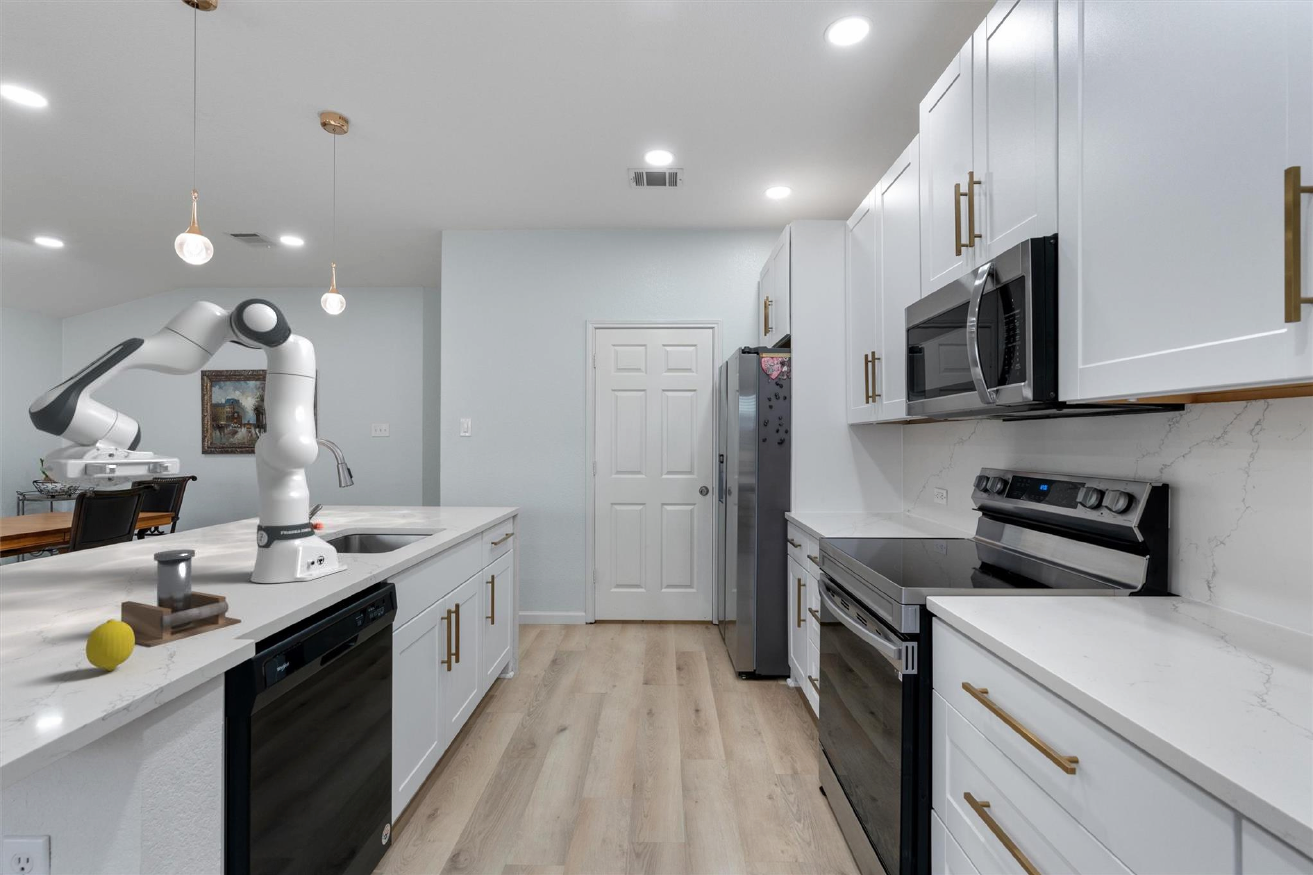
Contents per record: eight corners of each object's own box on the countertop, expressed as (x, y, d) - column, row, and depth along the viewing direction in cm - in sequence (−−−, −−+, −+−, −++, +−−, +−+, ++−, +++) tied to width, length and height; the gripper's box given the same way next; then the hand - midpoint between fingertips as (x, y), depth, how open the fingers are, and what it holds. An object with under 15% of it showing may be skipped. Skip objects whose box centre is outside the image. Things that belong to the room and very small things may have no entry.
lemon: (110, 678, 87) (111, 625, 87) (74, 677, 87) (75, 624, 87) (144, 664, 93) (144, 614, 93) (110, 663, 93) (110, 613, 93)
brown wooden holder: (193, 613, 120) (194, 586, 120) (241, 622, 114) (241, 594, 114) (102, 635, 106) (102, 605, 106) (150, 646, 100) (151, 615, 100)
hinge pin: (182, 619, 114) (182, 548, 114) (201, 623, 112) (202, 550, 112) (145, 628, 108) (146, 553, 108) (165, 632, 106) (165, 556, 106)
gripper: (35, 452, 114) (73, 453, 109) (157, 451, 133) (195, 452, 127) (34, 484, 114) (72, 487, 108) (157, 479, 133) (194, 481, 127)
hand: (139, 468), depth 118 cm, fingers open, 8 cm apart
